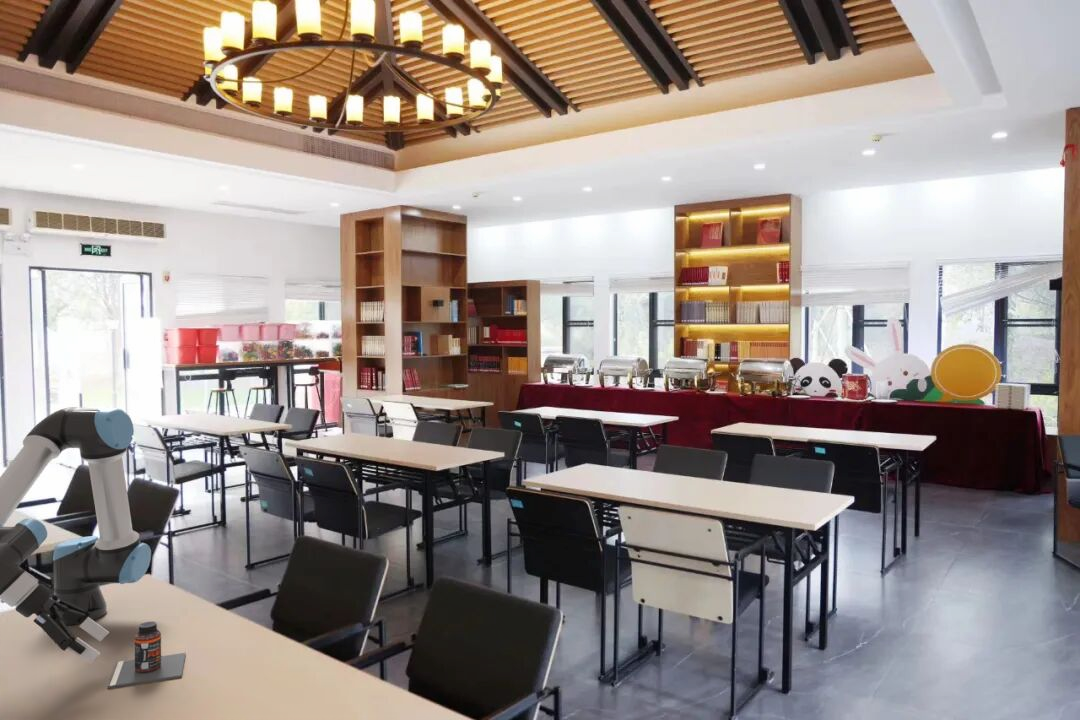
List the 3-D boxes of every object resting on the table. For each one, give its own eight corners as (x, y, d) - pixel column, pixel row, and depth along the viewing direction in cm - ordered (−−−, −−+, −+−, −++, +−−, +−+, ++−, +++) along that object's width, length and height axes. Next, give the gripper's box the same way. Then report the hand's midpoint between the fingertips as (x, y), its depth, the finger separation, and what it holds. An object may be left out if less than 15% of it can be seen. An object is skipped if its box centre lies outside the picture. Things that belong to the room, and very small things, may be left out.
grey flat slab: (116, 664, 192) (116, 662, 192) (185, 654, 198) (185, 652, 198) (107, 688, 179) (107, 685, 179) (181, 677, 185) (181, 674, 185)
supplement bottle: (150, 674, 185) (149, 629, 185) (129, 672, 186) (128, 627, 186) (166, 664, 191) (166, 620, 190) (146, 662, 192) (145, 618, 192)
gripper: (27, 590, 189) (97, 640, 195) (-2, 626, 166) (78, 681, 172) (51, 567, 191) (119, 617, 197) (26, 599, 168) (104, 655, 174)
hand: (100, 647), depth 184 cm, fingers open, 13 cm apart
